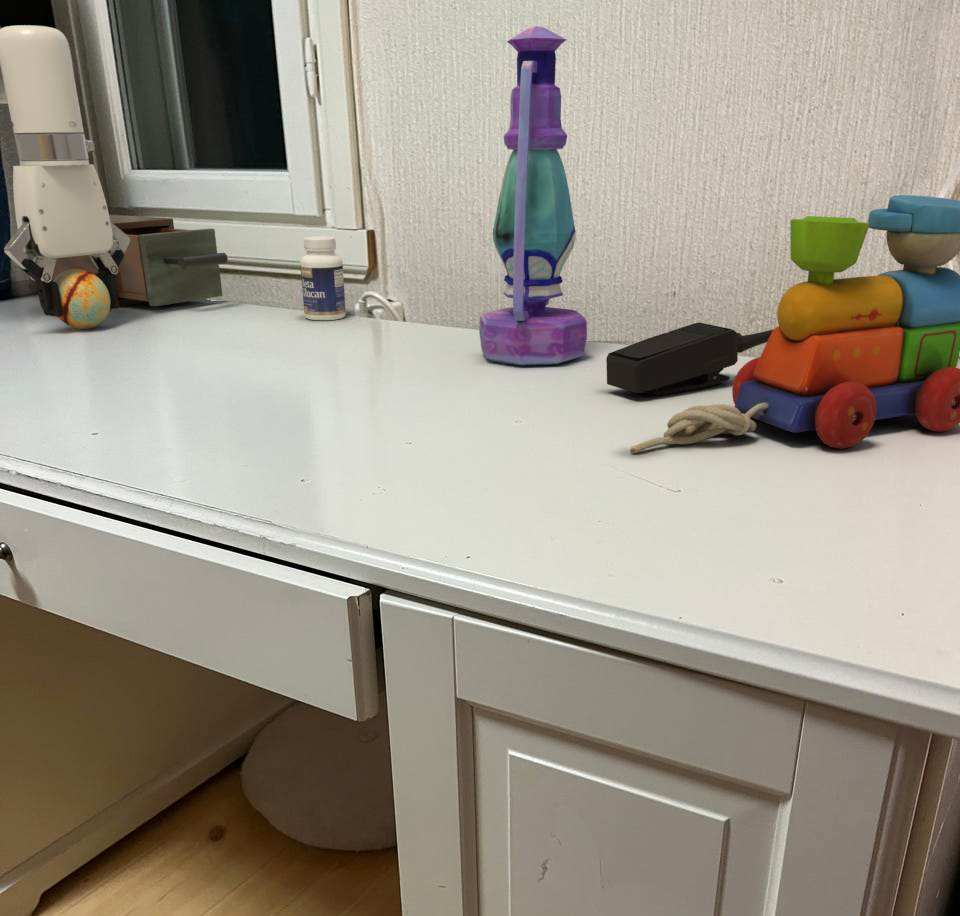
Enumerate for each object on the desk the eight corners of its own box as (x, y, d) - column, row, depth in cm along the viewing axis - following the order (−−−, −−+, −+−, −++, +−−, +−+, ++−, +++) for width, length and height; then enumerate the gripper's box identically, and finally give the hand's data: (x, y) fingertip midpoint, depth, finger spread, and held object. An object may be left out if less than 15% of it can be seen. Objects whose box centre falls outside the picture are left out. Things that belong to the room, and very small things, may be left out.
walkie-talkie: (590, 365, 91) (749, 322, 99) (621, 421, 90) (779, 374, 98) (619, 323, 85) (784, 282, 94) (653, 383, 84) (817, 336, 92)
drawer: (245, 298, 138) (237, 230, 134) (177, 309, 130) (167, 237, 126) (159, 288, 149) (150, 224, 144) (91, 297, 140) (79, 230, 136)
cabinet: (184, 296, 147) (173, 218, 142) (109, 308, 138) (94, 224, 133) (120, 288, 155) (108, 214, 150) (46, 298, 146) (30, 220, 141)
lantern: (495, 343, 112) (494, 34, 98) (596, 348, 109) (610, 30, 95) (461, 367, 100) (455, 21, 87) (574, 372, 98) (586, 16, 84)
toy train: (593, 436, 77) (604, 203, 69) (872, 396, 88) (907, 191, 80) (686, 480, 67) (710, 214, 60) (987, 429, 78) (1040, 198, 70)
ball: (43, 332, 121) (31, 271, 118) (80, 322, 127) (69, 265, 124) (91, 334, 119) (80, 273, 116) (126, 325, 125) (116, 266, 122)
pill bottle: (297, 320, 127) (290, 238, 123) (315, 313, 132) (309, 235, 127) (335, 321, 126) (329, 239, 121) (352, 315, 131) (347, 235, 126)
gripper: (99, 150, 122) (124, 300, 130) (-38, 153, 110) (-1, 318, 118) (136, 150, 118) (159, 305, 126) (-2, 153, 106) (34, 324, 114)
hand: (82, 310), depth 122 cm, fingers closed on ball, 7 cm apart
